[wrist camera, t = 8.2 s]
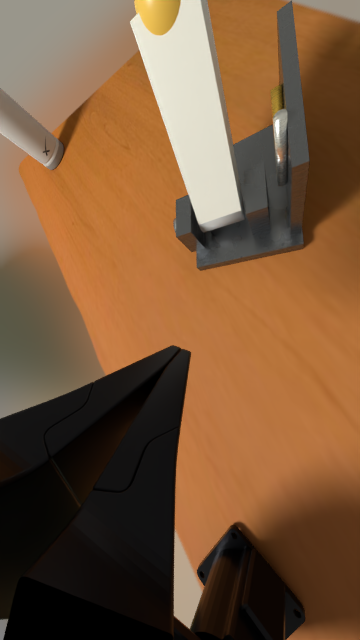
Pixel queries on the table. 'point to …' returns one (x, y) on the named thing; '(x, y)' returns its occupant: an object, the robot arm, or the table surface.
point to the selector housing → (262, 176)
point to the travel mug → (28, 133)
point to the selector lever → (192, 104)
